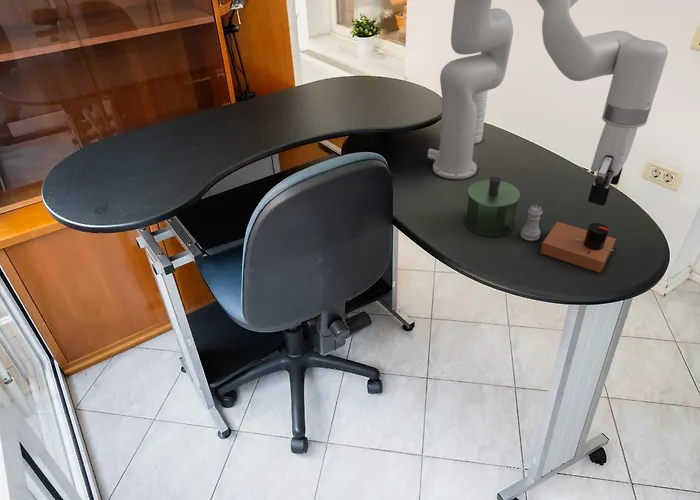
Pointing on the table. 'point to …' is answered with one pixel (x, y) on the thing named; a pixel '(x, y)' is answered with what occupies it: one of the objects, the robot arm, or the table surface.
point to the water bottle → (480, 113)
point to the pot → (490, 219)
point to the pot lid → (493, 193)
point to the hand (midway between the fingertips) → (603, 192)
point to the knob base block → (575, 247)
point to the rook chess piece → (532, 224)
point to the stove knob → (596, 236)
